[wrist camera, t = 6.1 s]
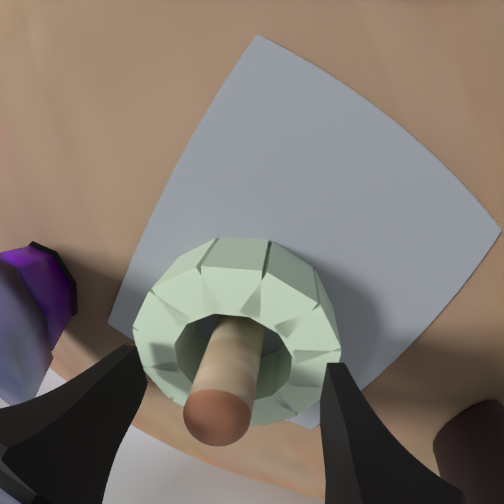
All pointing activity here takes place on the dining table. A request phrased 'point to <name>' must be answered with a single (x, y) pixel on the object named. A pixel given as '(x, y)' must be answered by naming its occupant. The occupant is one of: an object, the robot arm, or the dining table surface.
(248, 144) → the mat
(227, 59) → the dining table surface
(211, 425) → the wooden dowel
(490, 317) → the dining table surface
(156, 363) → the bead
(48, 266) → the potion bottle
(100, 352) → the dining table surface
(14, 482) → the robot arm
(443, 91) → the dining table surface
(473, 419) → the vinegar
